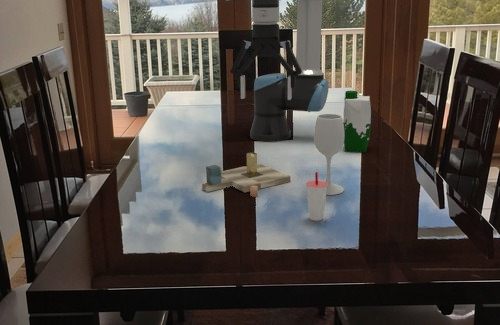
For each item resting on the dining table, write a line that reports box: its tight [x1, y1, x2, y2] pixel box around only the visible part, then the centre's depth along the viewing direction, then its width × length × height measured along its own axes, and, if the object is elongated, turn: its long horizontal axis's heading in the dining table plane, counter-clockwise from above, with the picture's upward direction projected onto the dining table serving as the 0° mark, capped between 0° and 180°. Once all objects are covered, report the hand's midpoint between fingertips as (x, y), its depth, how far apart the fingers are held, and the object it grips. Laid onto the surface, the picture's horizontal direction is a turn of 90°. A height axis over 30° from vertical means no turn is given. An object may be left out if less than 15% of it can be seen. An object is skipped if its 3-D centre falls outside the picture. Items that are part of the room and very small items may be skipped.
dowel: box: [249, 186, 259, 198], centre depth 168 cm, size 2×2×3 cm
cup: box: [305, 171, 328, 222], centre depth 150 cm, size 5×5×12 cm
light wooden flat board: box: [201, 162, 291, 193], centre depth 178 cm, size 16×24×6 cm, turn 124°
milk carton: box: [342, 90, 372, 154], centre depth 208 cm, size 9×9×20 cm
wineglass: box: [313, 113, 345, 196], centre depth 168 cm, size 9×9×21 cm
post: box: [246, 152, 258, 178], centre depth 180 cm, size 3×3×8 cm
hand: (266, 98), depth 178 cm, fingers open, 13 cm apart
